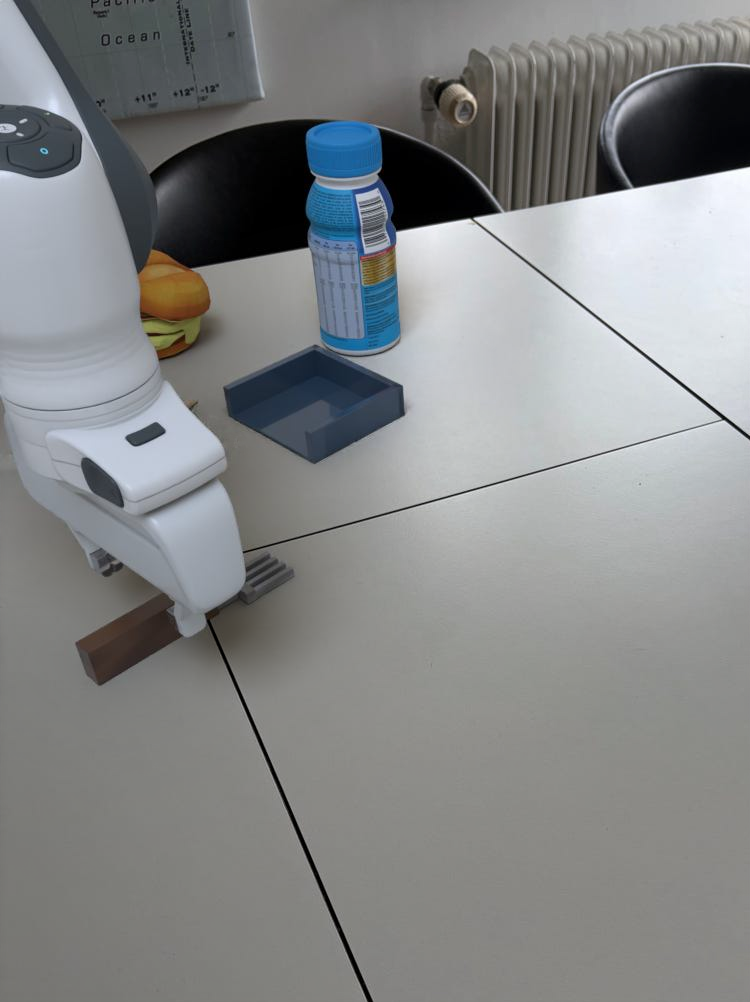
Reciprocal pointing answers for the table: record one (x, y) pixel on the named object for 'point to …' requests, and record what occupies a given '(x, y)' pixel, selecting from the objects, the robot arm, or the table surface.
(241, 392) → the tray
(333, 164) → the beverage bottle
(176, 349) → the cheeseburger
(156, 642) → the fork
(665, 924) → the table surface
